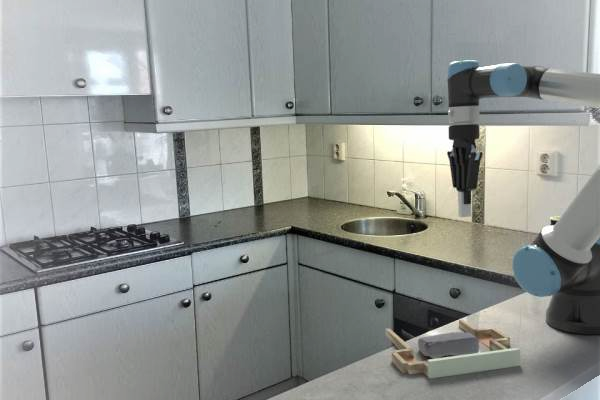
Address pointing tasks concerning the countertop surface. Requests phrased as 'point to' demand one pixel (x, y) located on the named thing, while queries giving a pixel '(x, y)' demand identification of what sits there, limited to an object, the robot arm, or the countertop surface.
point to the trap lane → (461, 363)
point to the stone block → (448, 344)
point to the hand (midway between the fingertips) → (464, 216)
